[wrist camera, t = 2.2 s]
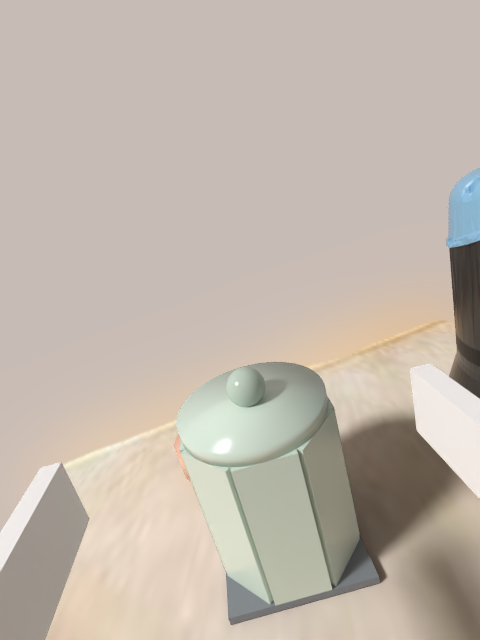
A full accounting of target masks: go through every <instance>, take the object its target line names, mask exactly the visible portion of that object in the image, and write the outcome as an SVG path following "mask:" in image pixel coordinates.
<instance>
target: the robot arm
mask: <svg viewBox="0 0 480 640" xmlns="http://www.w3.org/2000/svg"><path fill="white" fill-rule="evenodd" d="M446 242H447V246H448V247H449V248H450V261H451V275H452V289H453V302H454V316H455V329H456V344H457V353H456V356H455V359H454V362H453V365H452V369H451V372H450V375H449V376H447V375H446V374H444V373H443V372H442V371H440V370H439V369H438V368H436V367H435V366H433V365H432V364H431V363H428V364H424V365H421V366H417V367H413V368H410V376H411V385H412V394H413V403H414V411H415V420H416V429H417V432H418V433H419V434H420V435H421V436H422V437H423V438H424V439H425V440H426V441H427V442H428V443H429V445H430V446H431V447H432V448H433V449H434V450H435V451H436V452H437V453H438V454H439V455H440V456H441V458H442V459H443V460H444V461H445V462H446V463H447V464H448V465H449V466H450V467H451V468H452V470H453V471H454V472H455V473H456V474H457V475H458V476H459V477H460V478H461V479H462V480H463V481H464V483H465V484H466V485H467V486H468V487H469V488H470V489H471V490H472V491H473V492H474V493H475V494H476V496H477V497H478V498H479V499H480V168H478V169H476V170H474V171H472V172H470V173H469V174H467V175H465V176H464V177H463V178H461V179H460V180H459V181H458V182H457V184H456V185H455V186H454V188H453V190H452V191H451V194H450V197H449V236H448V238H447V240H446ZM88 522H89V517H88V515H87V513H86V511H85V509H84V507H83V505H82V503H81V501H80V499H79V497H78V495H77V493H76V491H75V489H74V487H73V485H72V483H71V481H70V479H69V477H68V475H67V473H66V471H65V469H64V467H63V464H62V463H61V462H60V463H56V464H53V465H49V466H45V467H41V468H40V470H39V471H38V473H37V475H36V476H35V478H34V479H33V481H32V483H31V485H30V486H29V487H28V489H27V491H26V492H25V494H24V496H23V497H22V499H21V500H20V502H19V503H18V505H17V507H16V508H15V510H14V512H13V513H12V515H11V516H10V518H9V520H8V521H7V523H6V525H5V526H4V528H3V529H2V531H1V532H0V640H45V639H46V636H47V633H48V630H49V628H50V625H51V622H52V620H53V617H54V614H55V611H56V609H57V606H58V603H59V601H60V598H61V595H62V592H63V590H64V587H65V584H66V581H67V579H68V576H69V573H70V571H71V568H72V565H73V562H74V560H75V557H76V554H77V552H78V549H79V546H80V543H81V541H82V538H83V535H84V533H85V530H86V527H87V524H88Z"/></svg>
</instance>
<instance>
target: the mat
mask: <svg viewBox="0 0 480 640" xmlns="http://www.w3.org/2000/svg"><path fill="white" fill-rule="evenodd" d="M359 537H360V540H359V542H358V544H357V546H356V548H355V550H354V552H353V554H352V556H351V558H350V560H349V562H348V564H347V566H346V568H345V570H344V572H343V574H342V576H341V578H340V580H339V582H338V584H337V586H334V585H332V584H331V586H332V590H330V591H326V592H322V593H319V594H315V595H312V596H308V597H305V598H301V599H297V600H294V601H290V602H287V603H283V604H280V605H276V606H275V603H274V600H273V602H272V603H271V605H270V604H268V603H267V602H266V601H264V600H263V599H261V598H260V597H258V596H257V595H255V594H254V593H252V592H251V591H249V590H248V589H246V588H245V587H244V586H242V585H241V584H239V583H238V582H236V581H235V580H233V579H232V578H230V577H229V576H228V575H227V572H226V581H227V599H228V617H229V621H230V623H231V625H232V624H236V623H239V622H243V621H246V620H250V619H254V618H257V617H261V616H264V615H268V614H271V613H275V612H279V611H282V610H286V609H289V608H293V607H296V606H300V605H304V604H307V603H311V602H314V601H318V600H321V599H325V598H329V597H332V596H336V595H339V594H343V593H346V592H350V591H354V590H357V589H361V588H364V587H368V586H371V585H375V584H379V583H380V579H379V575H378V573H377V571H376V569H375V567H374V565H373V562H372V560H371V558H370V556H369V554H368V551H367V549H366V547H365V545H364V543H363V541H362V538H361V536H360V535H359Z"/></svg>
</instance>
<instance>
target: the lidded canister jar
mask: <svg viewBox="0 0 480 640" xmlns="http://www.w3.org/2000/svg"><path fill="white" fill-rule="evenodd" d="M176 426H177V430H178V433H179V436H180V438H181V439H180V448H179V451H180V454H181V456H182V459H183V461H184V464H185V467H186V469H187V472H188V475H189V477H190V480H191V482H192V485H193V488H194V490H195V493H196V495H197V498H198V501H199V503H200V506H201V508H202V511H203V514H204V516H205V519H206V521H207V524H208V527H209V529H210V532H211V534H212V537H213V540H214V542H215V545H216V548H217V550H218V553H219V555H220V558H221V561H222V563H223V566H224V568H225V571H226V572H227V575H228V576H229V577H230V578H232V579H233V580H235V581H236V582H238V583H239V584H241V585H242V586H244V587H245V588H246V589H248V590H249V591H251V592H252V593H254V594H255V595H257V596H258V597H260V598H261V599H263V600H264V601H266V602H267V603H268V604H270V605H271V603H272V602H273V600H274V603H275V606H276V605H280V604H283V603H287V602H290V601H294V600H297V599H301V598H305V597H308V596H312V595H315V594H319V593H322V592H326V591H330V590H332V586H331V584H332V585H334V586H337V584H338V582H339V580H340V578H341V576H342V574H343V572H344V570H345V568H346V566H347V564H348V562H349V560H350V558H351V556H352V554H353V552H354V550H355V548H356V546H357V544H358V542H359V540H360V537H359V535H360V533H359V528H358V523H357V518H356V513H355V508H354V503H353V498H352V494H351V489H350V484H349V479H348V474H347V469H346V464H345V459H344V454H343V449H342V444H341V439H340V434H339V429H338V424H337V420H336V415H335V410H334V407H333V405H332V403H331V402H330V400H329V398H328V397H327V394H326V389H325V385H324V382H323V380H322V379H321V378H320V376H319V375H318V374H317V373H315V372H314V371H312V370H311V369H309V368H307V367H304V366H301V365H298V364H293V363H285V362H267V363H258V364H253V365H248V366H244V367H240V368H237V369H234V370H231V371H229V372H226V373H224V374H222V375H219V376H218V377H216V378H213V379H212V380H210V381H209V382H207V383H205V384H204V385H202V386H201V387H199V388H198V389H197V390H196V391H195V392H193V393H192V394H191V396H189V397H188V398H187V400H186V401H185V402H184V403H183V405H182V407H181V408H180V410H179V413H178V416H177V423H176Z"/></svg>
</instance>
